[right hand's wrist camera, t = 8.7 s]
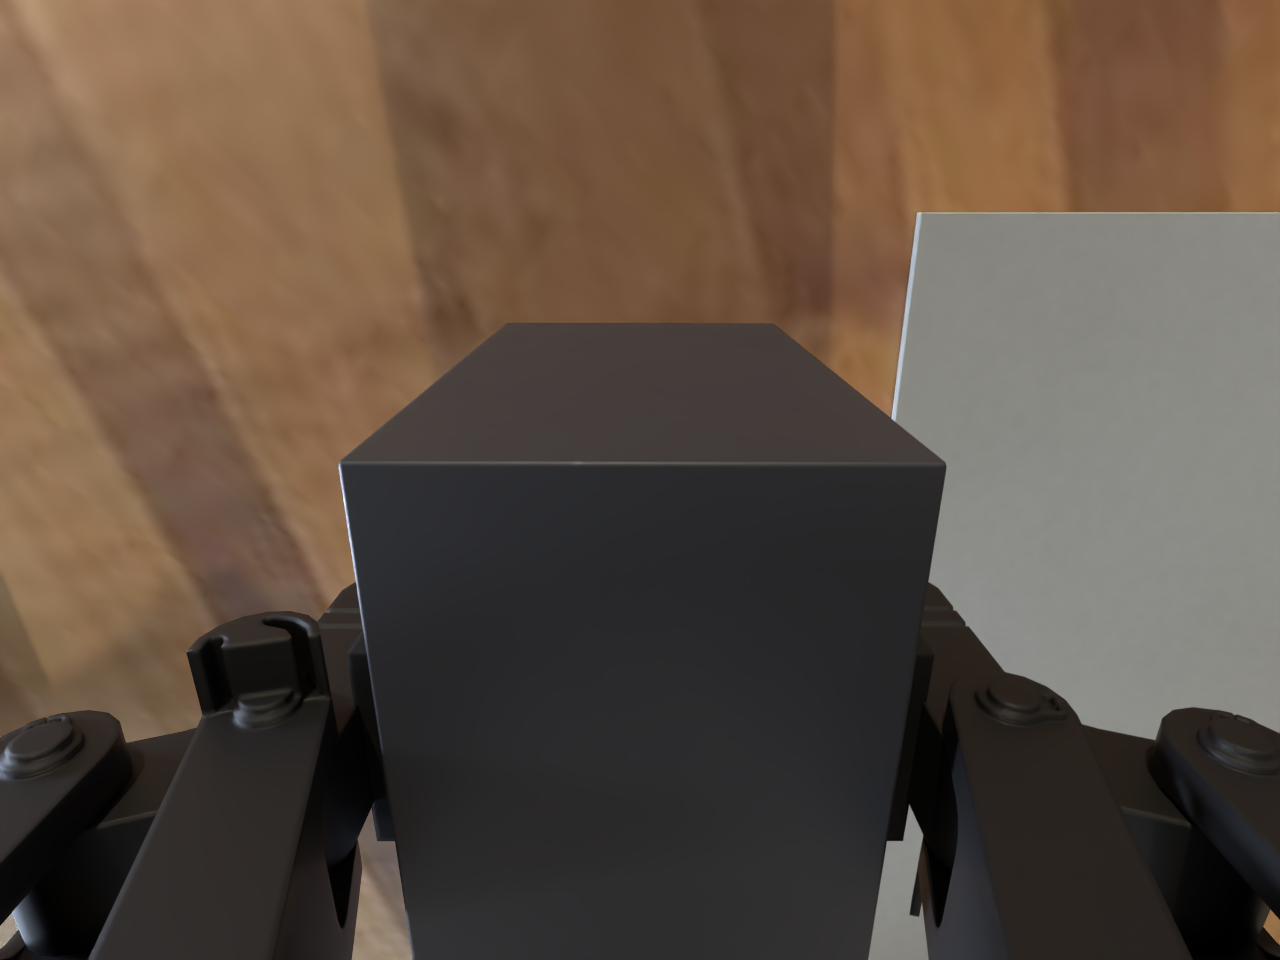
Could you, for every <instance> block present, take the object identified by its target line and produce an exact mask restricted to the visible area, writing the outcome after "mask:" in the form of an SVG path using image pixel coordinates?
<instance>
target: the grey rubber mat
mask: <svg viewBox="0 0 1280 960" xmlns="http://www.w3.org/2000/svg"><path fill="white" fill-rule="evenodd" d="M891 419H892V420H894V421H895V422H896V423H897V424H899V425H900V426H901V427H902V428H904V429H905V430H906V431H907V432H909V433H910V434H911V435H912V436H914V437H915V438H916V439H917V440H918V441H920V442H921V443H922V444H923V445H925V446H926V447H927V448H928V449H930V450H931V451H932V452H933V453H935V454H936V455H937V456H938V457H940V458H941V459H942V460H943V461H945V462H946V466H947V468H946V474H945V481H944V487H943V493H942V500H941V506H940V512H939V518H938V525H937V531H936V537H935V543H934V550H933V556H932V562H931V569H930V575H929V581H928V582H929V583H931V584H933V585H934V586H936V587H937V588H939V589H940V591H941V592H942V593H943V594H944V596H945V597H946V598H947V599H948V601H949V602H950V603H951V605H952V606H953V610H956V611H957V612H958V613H959V615H960V616H961V617H962V618H963V620H964V621H965V622H966V623H965V624H966V626H969V627H970V628H971V630H972V631H973V632H974V634H975V635H976V636H977V637H978V639H979V640H980V641H981V642H982V644H983V645H984V646H985V647H986V649H987V650H988V651H989V652H990V654H991V655H992V656H993V658H994V659H995V660H996V661H997V663H998V664H999V665H1000V666H1001V668H1002V669H1003V670H1004V671H1005V672H1007V673H1011V674H1015V675H1020V676H1024V677H1026V678H1029V679H1031V680H1033V681H1035V682H1038V683H1040V684H1042V685H1045V686H1047V687H1048V688H1050V689H1051V690H1053V691H1054V692H1055V693H1057V694H1058V695H1060V696H1061V697H1062V698H1064V699H1065V700H1066V701H1067V702H1068V703H1069V705H1070V706H1071V707H1072V708H1073V710H1074V711H1075V712H1076V714H1077V715H1078V717H1079V719H1080V721H1081V724H1083V725H1087V726H1091V727H1094V728H1098V729H1103V730H1108V731H1113V732H1118V733H1123V734H1128V735H1133V736H1138V737H1143V738H1148V739H1153V740H1155V739H1156V736H1157V733H1158V730H1159V727H1160V723H1161V720H1162V718H1163V717H1164V716H1166V715H1167V714H1168V713H1169V712H1171V711H1172V710H1175V709H1183V708H1190V707H1196V708H1205V709H1213V710H1221V711H1226V712H1230V713H1233V714H1234V715H1236V714H1238V715H1241V716H1244V717H1247V718H1249V719H1252V720H1254V721H1255V722H1257V723H1259V724H1261V725H1263V726H1265V727H1267V728H1269V729H1272V730H1274V731H1276V732H1278V733H1279V731H1280V212H918V213H917V218H916V226H915V234H914V242H913V250H912V258H911V266H910V274H909V282H908V290H907V298H906V306H905V314H904V322H903V330H902V338H901V346H900V354H899V362H898V370H897V378H896V386H895V394H894V402H893V410H892V418H891ZM922 839H923V833H922V831H921V829H920V827H919V825H918V822H917V820H916V818H915V816H914V814H913V811H912V809H911V807H910V805H909V809H908V815H907V821H906V827H905V833H904V839H903V841H887V845H886V851H885V857H884V863H883V870H882V876H881V882H880V888H879V895H878V901H877V907H876V914H875V920H874V926H873V932H872V939H871V945H870V951H869V957H868V960H929V958H928V949H927V941H926V933H925V924H924V916H923V907H922V904H921V910H920V915H919V917H916V916H912V915H909V914H910V907H911V900H912V894H913V889H914V883H915V878H916V872H917V867H918V861H919V856H920V850H921V845H922Z"/></svg>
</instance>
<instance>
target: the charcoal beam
mask: <svg viewBox="0 0 1280 960" xmlns="http://www.w3.org/2000/svg"><path fill="white" fill-rule="evenodd" d="M338 467H339V474H340V480H341V487H342V494H343V500H344V507H345V513H346V520H347V527H348V533H349V540H350V546H351V553H352V560H353V566H354V573H355V579H356V586H357V593H358V599H359V606H360V613H361V619H362V626H363V632H364V639H365V646H366V652H367V659H368V665H369V672H370V679H371V685H372V692H373V698H374V705H375V712H376V718H377V725H378V731H379V738H380V745H381V751H382V758H383V764H384V771H385V778H386V784H387V791H388V797H389V804H390V811H391V817H392V824H393V830H394V837H395V844H396V850H397V857H398V863H399V870H400V877H401V883H402V890H403V896H404V903H405V910H406V916H407V923H408V929H409V936H410V943H411V949H412V956H413V960H868V957H869V951H870V945H871V939H872V932H873V926H874V920H875V914H876V907H877V901H878V895H879V888H880V882H881V876H882V870H883V863H884V857H885V851H886V845H887V838H888V832H889V826H890V819H891V813H892V807H893V801H894V794H895V788H896V782H897V776H898V769H899V763H900V757H901V750H902V744H903V738H904V732H905V725H906V719H907V713H908V707H909V700H910V694H911V688H912V681H913V675H914V669H915V663H916V656H917V650H918V644H919V638H920V631H921V625H922V619H923V612H924V606H925V600H926V594H927V587H928V581H929V575H930V569H931V562H932V556H933V550H934V543H935V537H936V531H937V525H938V518H939V512H940V506H941V500H942V493H943V487H944V481H945V474H946V468H947V466H946V462H945V461H943V460H942V459H941V458H940V457H938V456H937V455H936V454H935V453H933V452H932V451H931V450H930V449H928V448H927V447H926V446H925V445H923V444H922V443H921V442H920V441H918V440H917V439H916V438H915V437H914V436H912V435H911V434H910V433H909V432H907V431H906V430H905V429H904V428H902V427H901V426H900V425H899V424H897V423H896V422H895V421H894V420H892V419H891V418H890V417H889V416H887V415H886V414H885V413H884V412H882V411H881V410H880V409H879V408H878V407H876V406H875V405H874V404H873V403H871V402H870V401H869V400H868V399H866V398H865V397H864V396H863V395H861V394H860V393H859V392H858V391H856V390H855V389H854V388H853V387H851V386H850V385H849V384H848V383H846V382H845V381H844V380H843V379H841V378H840V377H839V376H838V375H837V374H835V373H834V372H833V371H832V370H830V369H829V368H828V367H827V366H825V365H824V364H823V363H822V362H820V361H819V360H818V359H817V358H815V357H814V356H813V355H812V354H810V353H809V352H808V351H807V350H805V349H804V348H803V347H802V346H801V345H799V344H798V343H797V342H796V341H794V340H793V339H792V338H791V337H789V336H788V335H787V334H786V333H784V332H783V331H782V330H781V329H779V328H778V327H777V326H776V325H774V324H694V323H507V324H505V325H504V326H503V327H502V328H501V329H499V330H498V331H497V332H496V333H495V334H493V335H492V336H491V337H490V338H488V339H487V340H486V341H485V342H484V343H482V344H481V345H480V346H479V347H478V348H476V349H475V350H474V351H473V352H471V353H470V354H469V355H468V356H467V357H465V358H464V359H463V360H462V361H461V362H459V363H458V364H457V365H456V366H454V367H453V368H452V369H451V370H450V371H448V372H447V373H446V374H445V375H444V376H442V377H441V378H440V379H439V380H437V381H436V382H435V383H434V384H433V385H431V386H430V387H429V388H428V389H427V390H425V391H424V392H423V393H422V394H420V395H419V396H418V397H417V398H416V399H414V400H413V401H412V402H411V403H410V404H408V405H407V406H406V407H405V408H403V409H402V410H401V411H400V412H399V413H397V414H396V415H395V416H394V417H393V418H391V419H390V420H389V421H388V422H386V423H385V424H384V425H383V426H382V427H380V428H379V429H378V430H377V431H376V432H374V433H373V434H372V435H371V436H369V437H368V438H367V439H366V440H365V441H363V442H362V443H361V444H360V445H359V446H357V447H356V448H355V449H354V450H352V451H351V452H350V453H349V454H348V455H346V456H345V457H344V458H343V459H342V460H340V461H339V465H338Z"/></svg>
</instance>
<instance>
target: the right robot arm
mask: <svg viewBox="0 0 1280 960" xmlns="http://www.w3.org/2000/svg"><path fill="white" fill-rule="evenodd" d="M965 623H966V622H965V621H964V620H963V618H962V617H961V616H960V615H959V613H958V612H957V611H956V610H953V606H952V605H951V603H950V602H949V601H948V599H947V598H946V597H945V596H944V594H943V593H942V592H941V591H940V589H939V588H937V587H936V586H934V585H933V584H931V583H929V582H928V587H927V594H926V600H925V606H924V612H923V619H922V625H921V631H920V638H919V644H918V650H917V656H916V663H915V669H914V675H913V681H912V688H911V694H910V700H909V707H908V713H907V719H906V725H905V732H904V738H903V744H902V750H901V757H900V763H899V769H898V776H897V782H896V788H895V794H894V801H893V807H892V813H891V819H890V826H889V832H888V838H887V841H903V839H904V833H905V827H906V821H907V815H908V809H909V805H910V807H911V809H912V811H913V814H914V816H915V818H916V820H917V822H918V825H919V827H920V829H921V831H922V833H923V839H922V845H921V850H920V856H919V861H918V867H917V872H916V878H915V883H914V889H913V894H912V900H911V907H910V914H909V915H912V916H916V917H919V915H920V910H921V904H922V907H923V916H924V924H925V933H926V941H927V949H928V958H929V960H1280V945H1279V944H1278V943H1277V942H1276V941H1275V940H1274V939H1273V938H1272V937H1271V935H1270V934H1269V933H1268V932H1267V931H1266V930H1265V928H1264V927H1263V926H1264V923H1265V921H1266V918H1267V916H1268V914H1269V911H1270V909H1271V910H1272V911H1273V913H1274V914H1275V915H1276V916H1277V917H1278V918H1279V919H1280V733H1278V732H1276V731H1274V730H1272V729H1269V728H1267V727H1265V726H1263V725H1261V724H1259V723H1257V722H1255V721H1254V720H1252V719H1249V718H1247V717H1244V716H1241V715H1238V714H1236V715H1234V714H1233V713H1230V712H1226V711H1221V710H1213V709H1205V708H1196V707H1190V708H1183V709H1175V710H1172V711H1171V712H1169V713H1168V714H1167V715H1166V716H1164V717H1163V718H1162V720H1161V723H1160V727H1159V730H1158V733H1157V736H1156V739H1155V740H1153V739H1148V738H1143V737H1138V736H1133V735H1128V734H1123V733H1118V732H1113V731H1108V730H1103V729H1098V728H1094V727H1091V726H1087V725H1083V724H1081V721H1080V719H1079V717H1078V715H1077V714H1076V712H1075V711H1074V710H1073V708H1072V707H1071V706H1070V705H1069V703H1068V702H1067V701H1066V700H1065V699H1064V698H1062V697H1061V696H1060V695H1058V694H1057V693H1055V692H1054V691H1053V690H1051V689H1050V688H1048V687H1047V686H1045V685H1042V684H1040V683H1038V682H1035V681H1033V680H1031V679H1029V678H1026V677H1024V676H1020V675H1015V674H1011V673H1007V672H1005V671H1004V670H1003V669H1002V668H1001V666H1000V665H999V664H998V663H997V661H996V660H995V659H994V658H993V656H992V655H991V654H990V652H989V651H988V650H987V649H986V647H985V646H984V645H983V644H982V642H981V641H980V640H979V639H978V637H977V636H976V635H975V634H974V632H973V631H972V630H971V628H970V627H969V626H966V624H965ZM186 652H187V656H188V660H189V664H190V668H191V672H192V676H193V679H194V683H195V687H196V691H197V695H198V699H199V703H200V706H201V710H202V714H203V716H202V718H201V721H200V723H199V725H198V727H197V728H194V729H190V730H187V731H183V732H178V733H173V734H168V735H163V736H158V737H153V738H149V739H144V740H139V741H134V742H129V743H126V741H125V738H124V734H123V731H122V728H121V725H120V721H118V720H117V719H116V718H114V717H113V716H112V715H111V714H109V713H105V712H98V711H90V710H87V711H79V712H70V713H61V714H57V715H53V716H49V718H42V719H39V720H36V721H33V722H31V723H28V724H27V725H26V726H24V727H22V728H19V729H17V730H15V731H13V732H11V733H9V734H6V735H4V736H3V737H1V738H0V925H1V924H2V923H3V922H4V921H5V920H6V919H7V917H8V916H9V915H10V914H11V913H12V915H13V917H14V919H15V922H16V924H17V926H18V929H19V930H18V931H17V932H16V933H15V934H14V936H13V937H12V938H11V939H10V940H9V942H8V943H7V944H6V945H5V946H4V947H2V948H1V949H0V960H352V951H353V943H354V934H355V926H356V917H357V909H358V901H359V892H360V884H361V875H362V863H361V856H360V850H359V845H358V839H357V838H358V836H359V834H360V832H361V829H362V827H363V825H364V823H365V820H366V818H367V816H368V814H369V812H370V809H371V807H372V813H373V819H374V824H375V830H376V836H377V841H395V837H394V830H393V824H392V817H391V811H390V804H389V797H388V791H387V784H386V778H385V771H384V764H383V758H382V751H381V745H380V738H379V731H378V725H377V718H376V712H375V705H374V698H373V692H372V685H371V679H370V672H369V665H368V659H367V652H366V646H365V639H364V632H363V626H362V619H361V613H360V606H359V599H358V593H357V586H356V582H355V583H353V584H352V585H350V586H349V587H347V588H345V589H344V590H342V591H341V593H340V594H339V595H338V597H337V598H336V599H335V600H334V602H333V603H332V604H331V605H330V607H329V608H328V612H327V613H324V614H323V616H322V617H321V618H320V619H319V621H318V622H316V621H315V620H314V619H312V618H311V617H310V616H308V615H305V614H300V613H296V612H291V611H284V612H265V613H260V614H255V615H251V616H246V617H242V618H239V619H236V620H234V621H231V622H228V623H226V624H223V625H220V626H218V627H216V628H215V629H213V630H212V631H210V632H208V633H207V634H205V635H203V636H202V637H200V638H198V640H197V641H196V642H195V643H194V644H193V645H192V646H191V647H190V648H189V649H188V650H187V651H186Z"/></svg>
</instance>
